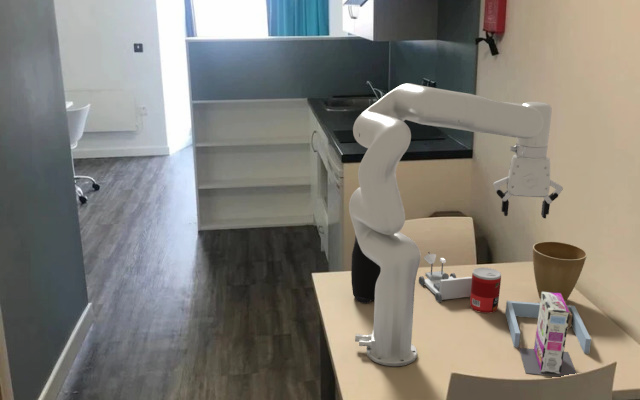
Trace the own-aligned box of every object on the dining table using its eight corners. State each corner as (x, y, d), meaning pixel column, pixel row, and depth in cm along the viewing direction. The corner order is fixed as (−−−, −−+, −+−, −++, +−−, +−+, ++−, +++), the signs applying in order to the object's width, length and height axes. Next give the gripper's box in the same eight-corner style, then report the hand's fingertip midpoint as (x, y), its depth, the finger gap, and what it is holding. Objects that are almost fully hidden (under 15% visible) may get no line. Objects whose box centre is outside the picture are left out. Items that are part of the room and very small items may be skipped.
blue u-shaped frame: (513, 347, 167) (515, 332, 166) (505, 313, 185) (506, 300, 184) (589, 353, 164) (591, 339, 163) (572, 318, 183) (574, 305, 181)
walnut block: (555, 327, 178) (557, 314, 177) (551, 320, 182) (553, 307, 180) (570, 328, 177) (572, 315, 176) (566, 321, 181) (568, 308, 180)
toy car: (416, 251, 205) (450, 248, 208) (414, 280, 208) (448, 277, 211) (441, 273, 188) (477, 270, 191) (439, 304, 191) (474, 300, 194)
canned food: (498, 314, 184) (502, 279, 181) (469, 312, 186) (472, 276, 183) (497, 303, 192) (500, 268, 188) (469, 300, 193) (472, 266, 190)
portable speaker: (386, 302, 191) (389, 240, 185) (355, 306, 189) (357, 242, 183) (376, 290, 199) (378, 230, 193) (347, 293, 197) (348, 232, 191)
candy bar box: (562, 375, 154) (570, 312, 149) (540, 373, 155) (548, 310, 150) (553, 351, 165) (561, 292, 160) (533, 349, 165) (540, 290, 161)
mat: (525, 373, 155) (525, 372, 155) (519, 348, 166) (519, 347, 166) (578, 378, 153) (578, 377, 153) (568, 352, 165) (568, 351, 165)
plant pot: (551, 314, 185) (558, 262, 180) (516, 294, 198) (522, 244, 193) (591, 306, 191) (598, 255, 186) (554, 286, 204) (561, 238, 199)
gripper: (497, 153, 163) (491, 218, 168) (570, 156, 160) (561, 222, 165) (494, 146, 170) (489, 209, 175) (564, 150, 167) (556, 213, 172)
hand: (524, 215), depth 170 cm, fingers open, 9 cm apart
